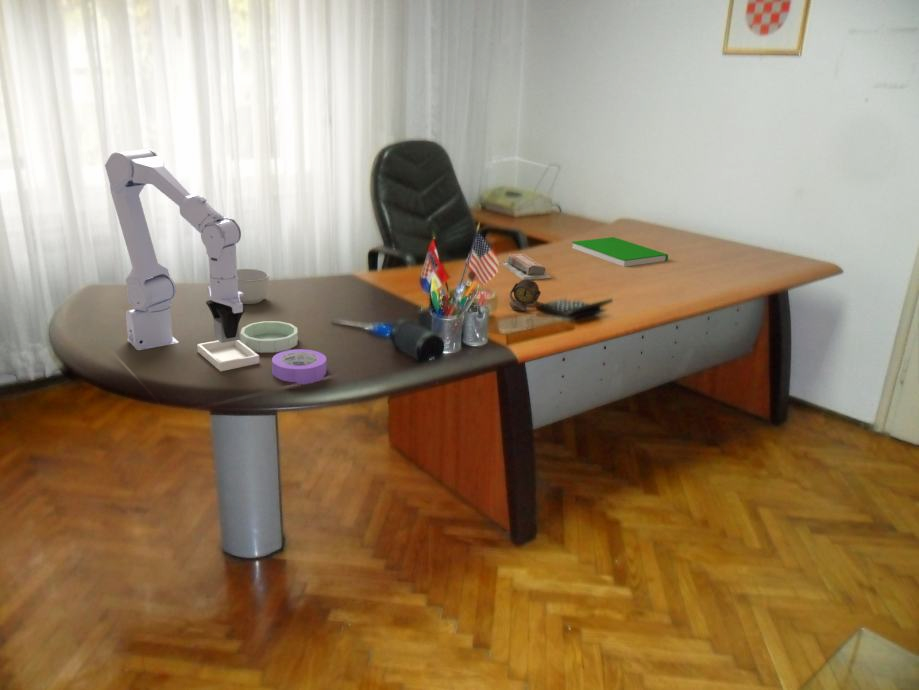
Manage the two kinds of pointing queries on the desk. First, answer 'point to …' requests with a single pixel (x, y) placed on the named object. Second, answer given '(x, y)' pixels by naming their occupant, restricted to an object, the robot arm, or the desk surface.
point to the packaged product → (525, 267)
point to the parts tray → (228, 354)
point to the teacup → (252, 285)
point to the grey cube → (220, 332)
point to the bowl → (269, 336)
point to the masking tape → (302, 374)
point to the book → (619, 251)
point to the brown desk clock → (524, 294)
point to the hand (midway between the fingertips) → (226, 334)
